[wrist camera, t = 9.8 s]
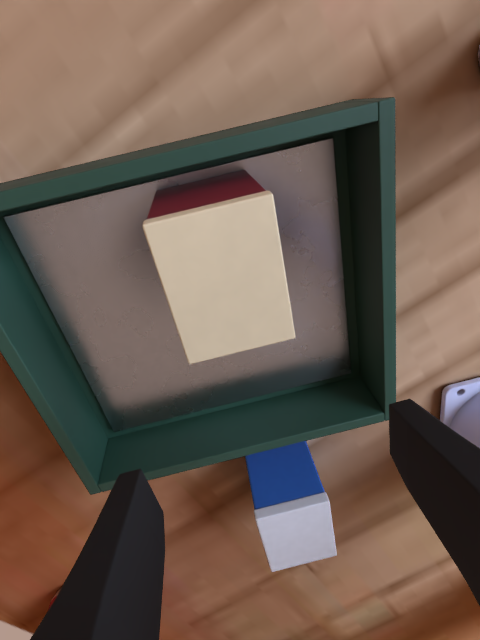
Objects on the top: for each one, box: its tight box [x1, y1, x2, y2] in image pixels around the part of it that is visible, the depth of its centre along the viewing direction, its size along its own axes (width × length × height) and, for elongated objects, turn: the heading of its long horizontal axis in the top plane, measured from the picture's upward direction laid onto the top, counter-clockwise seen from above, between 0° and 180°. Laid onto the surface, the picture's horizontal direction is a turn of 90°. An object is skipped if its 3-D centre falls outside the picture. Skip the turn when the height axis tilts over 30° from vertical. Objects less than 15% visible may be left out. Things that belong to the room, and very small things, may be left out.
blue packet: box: [245, 441, 337, 572], centre depth 23 cm, size 4×5×6 cm
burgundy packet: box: [142, 170, 296, 364], centre depth 15 cm, size 4×5×6 cm
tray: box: [0, 97, 396, 495], centre depth 18 cm, size 16×15×4 cm
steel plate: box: [3, 137, 351, 432], centre depth 19 cm, size 14×12×1 cm
